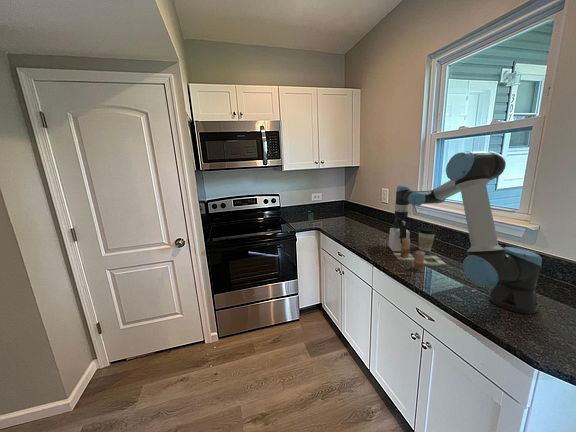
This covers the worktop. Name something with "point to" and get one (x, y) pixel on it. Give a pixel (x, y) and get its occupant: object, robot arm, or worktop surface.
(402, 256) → the wooden post on base
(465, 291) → the worktop surface
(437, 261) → the socket board
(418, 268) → the peg
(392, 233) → the block
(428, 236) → the coffee cup
